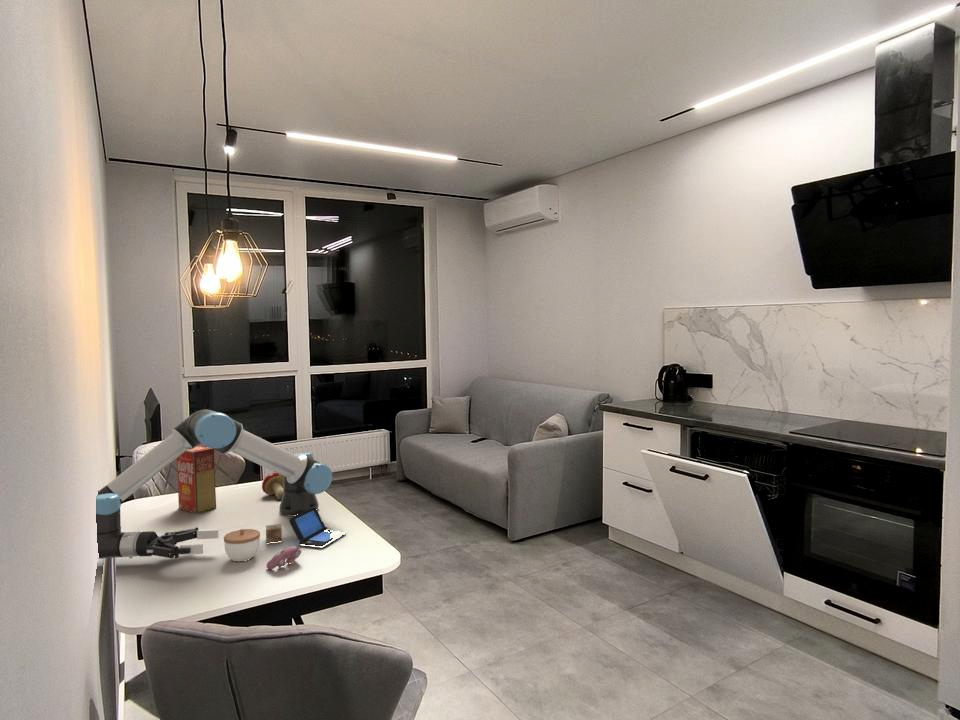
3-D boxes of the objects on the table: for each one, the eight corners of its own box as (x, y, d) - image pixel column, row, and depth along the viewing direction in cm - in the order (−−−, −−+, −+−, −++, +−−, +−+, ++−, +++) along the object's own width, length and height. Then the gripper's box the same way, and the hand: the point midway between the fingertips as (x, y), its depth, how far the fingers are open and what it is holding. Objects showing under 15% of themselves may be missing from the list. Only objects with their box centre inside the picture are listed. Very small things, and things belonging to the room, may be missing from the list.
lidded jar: (266, 558, 187) (265, 529, 186) (233, 568, 179) (232, 537, 178) (251, 549, 194) (250, 521, 194) (218, 559, 186) (217, 529, 186)
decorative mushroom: (288, 481, 250) (276, 463, 261) (265, 497, 246) (254, 478, 257) (300, 496, 257) (287, 478, 268) (277, 512, 253) (266, 493, 264)
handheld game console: (322, 550, 194) (322, 522, 193) (288, 546, 198) (287, 519, 197) (347, 534, 208) (346, 509, 208) (314, 531, 213) (314, 506, 212)
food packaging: (176, 509, 240) (174, 448, 239) (198, 503, 248) (196, 444, 247) (196, 514, 233) (194, 451, 232) (217, 507, 241) (215, 447, 240)
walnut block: (281, 537, 205) (281, 523, 205) (281, 542, 201) (281, 528, 200) (266, 539, 204) (265, 525, 203) (266, 544, 199) (266, 530, 199)
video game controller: (273, 577, 176) (279, 558, 174) (264, 567, 178) (270, 549, 176) (299, 565, 184) (305, 548, 182) (290, 557, 186) (296, 539, 184)
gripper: (158, 541, 196) (224, 539, 198) (120, 572, 171) (195, 568, 173) (157, 519, 195) (223, 517, 198) (119, 546, 171) (194, 543, 173)
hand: (210, 541), depth 185 cm, fingers open, 13 cm apart
